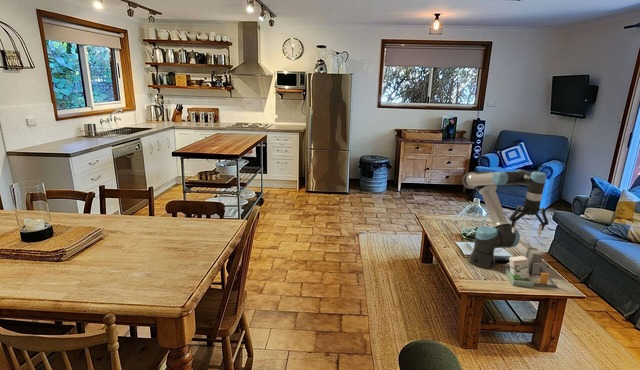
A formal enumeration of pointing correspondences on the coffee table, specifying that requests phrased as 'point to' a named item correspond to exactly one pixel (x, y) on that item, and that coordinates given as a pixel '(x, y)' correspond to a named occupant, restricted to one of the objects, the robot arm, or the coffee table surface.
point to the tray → (519, 280)
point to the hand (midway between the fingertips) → (525, 233)
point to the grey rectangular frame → (542, 276)
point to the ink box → (519, 267)
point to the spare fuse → (533, 257)
